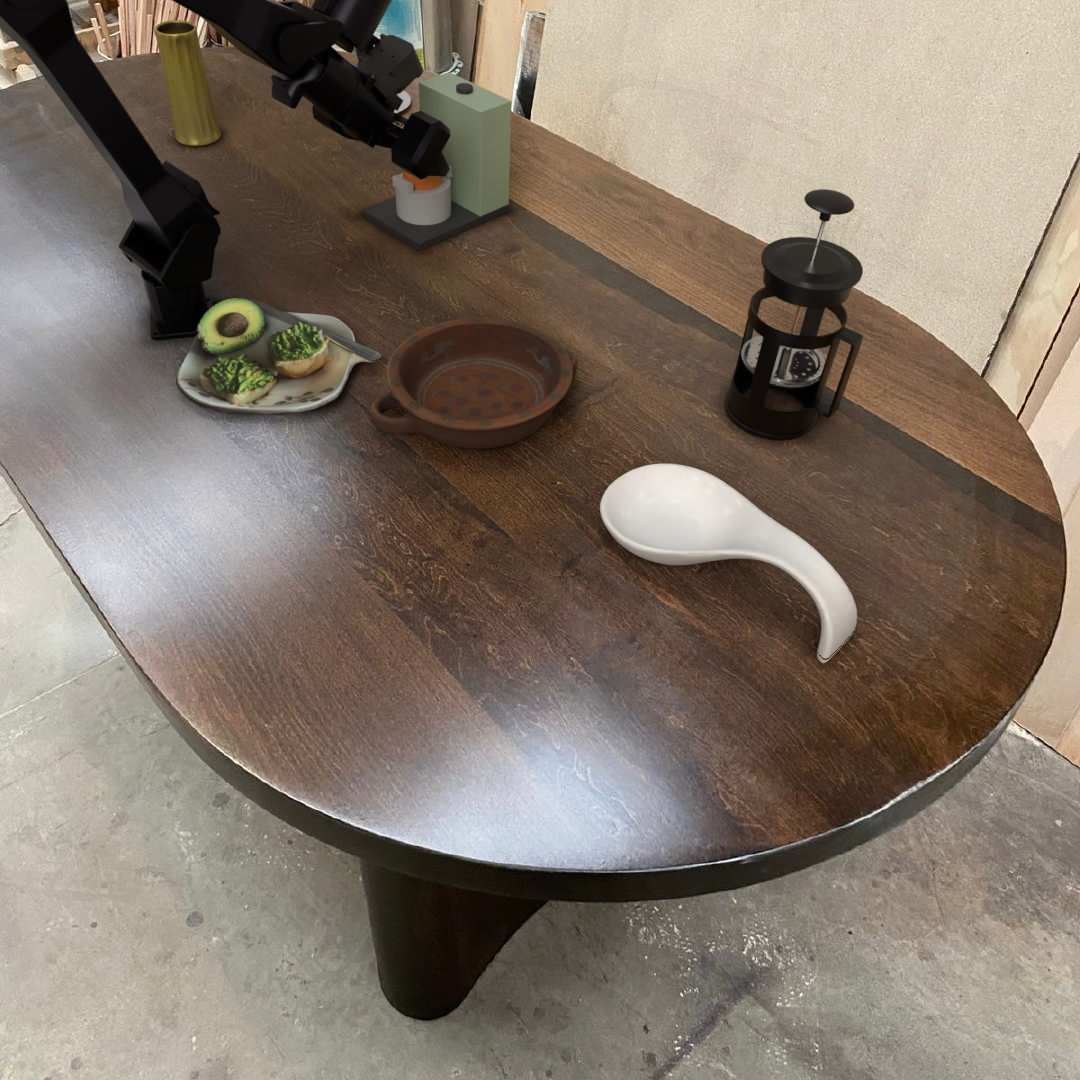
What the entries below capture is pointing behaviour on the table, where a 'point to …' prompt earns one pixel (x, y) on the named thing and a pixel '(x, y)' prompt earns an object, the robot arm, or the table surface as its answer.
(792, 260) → the french press
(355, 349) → the avocado toast plate
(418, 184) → the coffee pod
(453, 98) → the coffee maker
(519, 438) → the dish
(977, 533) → the table surface
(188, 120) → the vase
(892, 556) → the table surface
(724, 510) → the spoon rest
